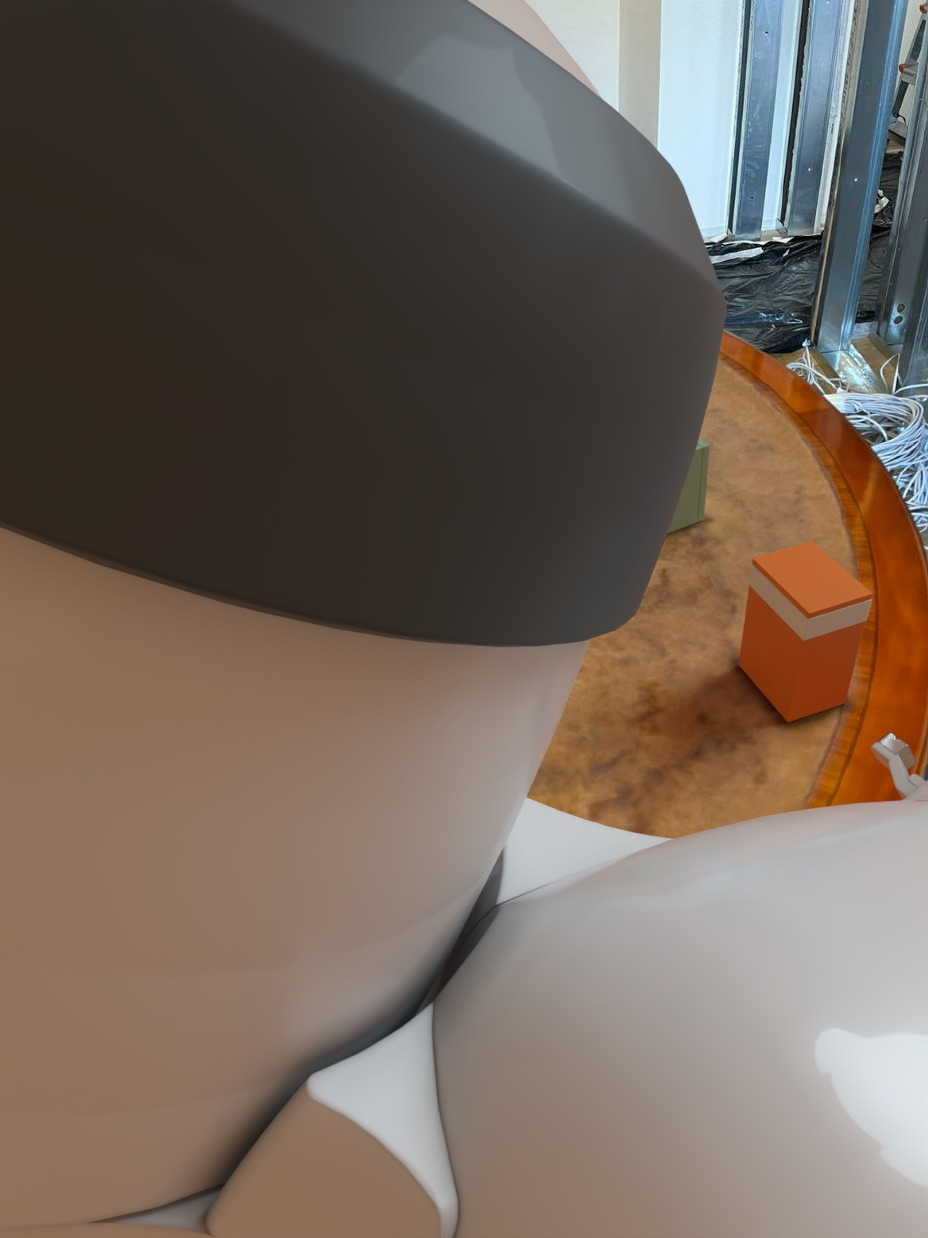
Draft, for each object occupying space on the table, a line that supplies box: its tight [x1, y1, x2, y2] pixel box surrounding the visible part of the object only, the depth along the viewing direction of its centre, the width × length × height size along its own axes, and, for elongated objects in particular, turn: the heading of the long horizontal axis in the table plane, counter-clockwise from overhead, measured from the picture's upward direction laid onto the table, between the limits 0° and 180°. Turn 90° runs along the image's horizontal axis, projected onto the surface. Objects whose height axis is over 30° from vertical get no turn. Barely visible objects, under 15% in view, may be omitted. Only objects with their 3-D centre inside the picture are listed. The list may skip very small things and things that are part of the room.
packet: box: [738, 540, 873, 723], centre depth 65 cm, size 5×7×11 cm
